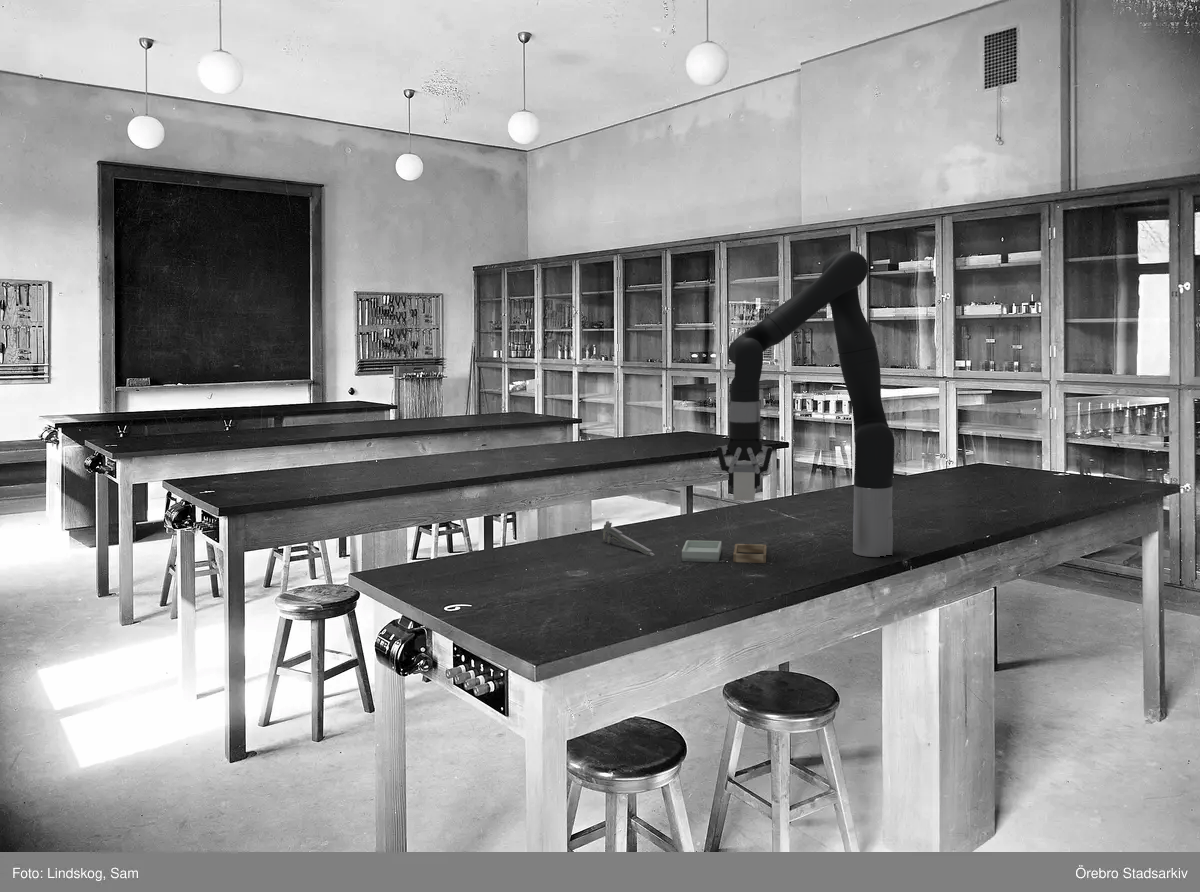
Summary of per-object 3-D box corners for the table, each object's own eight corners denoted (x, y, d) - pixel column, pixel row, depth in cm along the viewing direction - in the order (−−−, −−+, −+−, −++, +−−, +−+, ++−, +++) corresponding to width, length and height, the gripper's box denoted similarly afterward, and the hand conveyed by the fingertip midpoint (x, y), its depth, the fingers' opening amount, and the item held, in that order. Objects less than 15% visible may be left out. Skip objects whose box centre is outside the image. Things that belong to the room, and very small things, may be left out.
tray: (721, 550, 236) (721, 541, 236) (718, 562, 224) (718, 552, 224) (686, 549, 238) (686, 540, 237) (681, 561, 226) (681, 551, 226)
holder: (766, 552, 233) (766, 544, 233) (765, 563, 223) (765, 555, 222) (735, 551, 235) (735, 543, 234) (733, 562, 224) (733, 554, 224)
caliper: (602, 543, 248) (602, 520, 247) (606, 542, 249) (605, 520, 248) (651, 557, 232) (651, 533, 231) (655, 556, 232) (654, 532, 232)
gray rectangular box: (755, 494, 231) (755, 463, 230) (754, 500, 223) (754, 468, 222) (734, 494, 232) (734, 463, 231) (732, 500, 224) (733, 467, 223)
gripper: (774, 418, 227) (773, 486, 229) (716, 417, 230) (716, 484, 232) (774, 421, 220) (773, 491, 222) (714, 420, 222) (714, 490, 225)
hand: (744, 487), depth 227 cm, fingers closed on gray rectangular box, 5 cm apart
